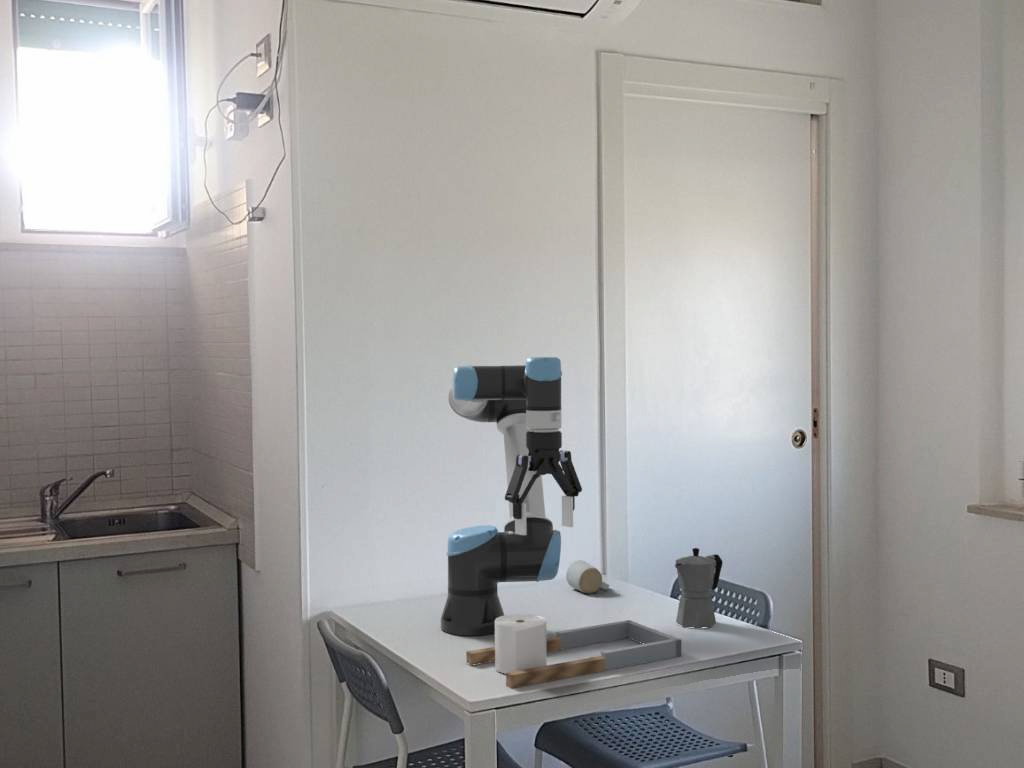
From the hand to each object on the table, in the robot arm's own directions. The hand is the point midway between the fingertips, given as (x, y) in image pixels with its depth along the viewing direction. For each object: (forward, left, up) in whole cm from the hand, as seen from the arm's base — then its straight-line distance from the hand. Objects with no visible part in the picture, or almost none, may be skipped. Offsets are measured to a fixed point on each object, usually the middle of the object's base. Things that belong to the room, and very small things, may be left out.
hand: (544, 530), depth 234 cm
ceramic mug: (+2, +62, -27) cm, 68 cm away
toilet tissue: (-3, -9, -27) cm, 29 cm away
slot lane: (-1, -7, -27) cm, 28 cm away
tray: (+14, +5, -27) cm, 31 cm away
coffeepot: (+32, +33, -27) cm, 53 cm away
